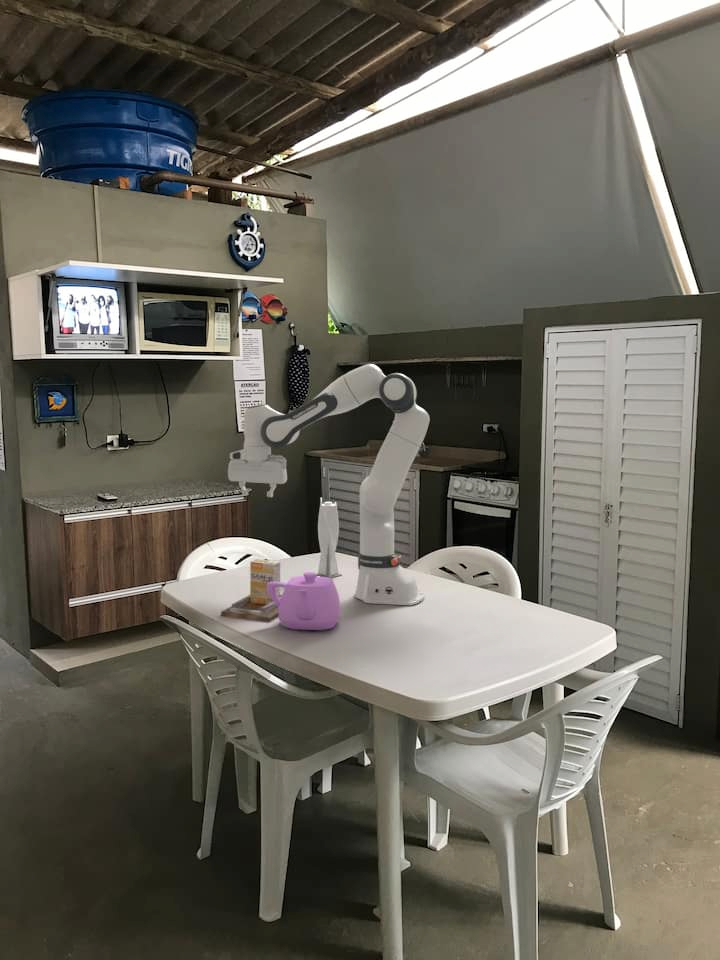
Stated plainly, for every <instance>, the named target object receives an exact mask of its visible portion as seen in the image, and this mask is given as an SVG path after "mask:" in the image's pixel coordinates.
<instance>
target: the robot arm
mask: <svg viewBox="0 0 720 960" xmlns="http://www.w3.org/2000/svg"><path fill="white" fill-rule="evenodd" d="M373 399H380V400H381V401H382V402H383V403H384V404H385V406H386V407H388V408H389V409H390V410H391V411H392V412H393V413H394V419H393V423H392V424H391V427H390V428H389V431H388V433H387V435H386V436H385V439H384V441H383V443H382V445H381V446H380V449H379V451H378V453H377V455H376V459H375V461H374V463H373V465H372V468H371V471H370V473H369V475H368V476H366V477H365V478H364V479H363V480H362V482H361V484H360V486H359V552H358V556H357V566H358V577H357V585H356V589H355V592H354V597H355V598H357V599H358V600H360V601H362V602H363V603H365V604H375V605H377V604H378V605H397V606H414V604H415V605H418V604H419V602H420V601H421V602H423V601H424V599H425V593H424V592H422V591H418V584H417V583H418V582H417V580H416V578H415V576H414V575H413V574H411V573H410V572H408V571H407V569H405V568H404V567H403V566H402V565H401V557H402V555H398V554H397V553H395V515H394V514H395V513H394V506H395V504H396V502H397V500H398V499H399V495H400V493H401V491H402V489H403V486H404V484H405V481H406V478H407V476H408V473H409V471H410V468H411V466H412V464H413V463H414V460H415V458H416V456H417V455H418V452H419V450H420V448H421V446H422V444H423V442H424V439H425V438H426V434H427V431H428V429H429V428H428V427H429V424H430V420H431V419H430V415H429V413H428V411H426V410H425V409H424V408H422V407H421V406H419V405H418V404H417V399H418V391H417V387H416V385H415V383H414V382H413V380H412V379H411V378H410V377H408V376H407V375H405V374H403V373H399V372H394V373H390V374H388V375H385V373H384V372H383V371H382V369H381V368H380V367H379V366H377V365H376V364H374V363H368V364H364V365H361V366H359V367H357V368H354V369H352V370H349V371H347V373H345V374H343V375H341V376H340V377H338V378H337V379H335V380H334V381H332V382H331V383H330V384H329V385H328V386H327V387H325V388H324V389H323V390H322V391H321V392H320V393H318V394H317V395H316V396H315V397H314V398H313V399H311V400H309V401H308V402H306V403H304V404H302V405H301V406H299V407H298V408H296V409H293V410H292V411H290V412H288V413H287V414H284V413H282V412H279V411H277V410H275V409H274V408H272V407H270V405H269V404H257V405H253V406H250V407H247V408H246V410H245V412H244V417H243V435H244V442H243V449H239V450H237V451H233V452H230V454H229V459H230V461H229V463H228V467H227V468H228V469H227V478H228V480H229V481H230V482H238V487H239V488H240V489H241V495H242V496H246V497H247V496H249V493H250V492H249V489H247V488H246V484H247V483H259V484H269V487H270V489H269V491H266V497H267V498H273V497H274V491H275V489H276V488H277V485H283V484H286V483H287V481H288V472H287V459H286V457H284V456H283V455H280V454H278V455H277V454H276V455H275V454H272V449H282V448H283V447H285V446H287V445H289V444H292V443H293V442H295V441H296V440H297V439H298V438H299V436H300V431H301V430H302V429H305V428H306V427H308V426H310V425H311V424H314V423H315V422H316V421H319V420H322V419H323V418H327V417H329V416H334V415H340V414H343V413H347V412H350V411H351V410H354V409H356V408H358V407H360V406H361V405H363V404H365V403H366V402H369V401H370V400H373ZM421 602H420V603H421ZM417 603H418V604H417Z"/></svg>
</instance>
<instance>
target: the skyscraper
mask: <svg viewBox="0 0 720 960" xmlns="http://www.w3.org/2000/svg"><path fill="white" fill-rule="evenodd" d="M319 499H320V503H319V512H318V521H317V535H318V536H317V537H318V542H319V549H320V557H319V564H318V570H317V573H316V574H317V575H316V577H317V576H320V577H327V578H331V579H335V578H338V576H339V577H342V576H343V575H342V574H341V573H339V568H338V562H337V561H338V560H337V557H336V556H337V555H336V549H337V546H338V541H339V540H338V539H339V532H340V521H339V513H338V504H337V502H336V501H334V503H333V502H332V501H324V503H323V497H320V498H319ZM334 577H335V578H334Z"/></svg>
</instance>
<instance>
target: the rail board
mask: <svg viewBox="0 0 720 960" xmlns="http://www.w3.org/2000/svg"><path fill="white" fill-rule="evenodd" d="M282 594H283V593H280V597H279V600H280V601H281V597H282ZM220 616H222V617H229V618H235V619H236V618H237V619H244V620H253V621H261V622H269V623H272V621H274V620H275V619H277V618H279V607H278V606H277V604H276V603H275V602H274V601H272V602H270V603H269V604H267V605H264V604H255V603H250V594H249V595H247V596H244V597H243V598H241V599H239V600H237V601H236V602H234V603H232V604H231V605H230V606H229V607H227V608H225V609H223V610H222V611H220Z"/></svg>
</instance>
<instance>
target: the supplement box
mask: <svg viewBox="0 0 720 960" xmlns="http://www.w3.org/2000/svg"><path fill="white" fill-rule="evenodd" d="M249 563H250V564H249V565H250V573H249V574H250V575H249V576H250V577H249V579H250V582H249V584H250V585H249V586H250V588H249V589H250V594H249V595H250V603H255V604H264V605H267V604H269V603H270V602H272V601H273V599H272V598H271V596H270V595H269V593H268V590H267V584H268V583H269V582H281V561H278V560H277V561H276V560H269V559H261V558H255V559H254V560H251V561H250V562H249ZM275 591H276V594H277V596H278V598H279V597H280V594H281V587H276V588H275Z"/></svg>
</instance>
